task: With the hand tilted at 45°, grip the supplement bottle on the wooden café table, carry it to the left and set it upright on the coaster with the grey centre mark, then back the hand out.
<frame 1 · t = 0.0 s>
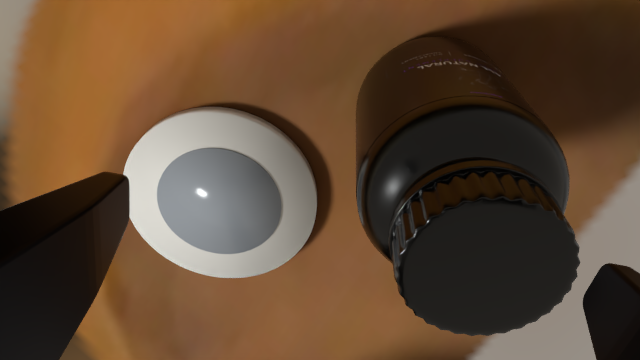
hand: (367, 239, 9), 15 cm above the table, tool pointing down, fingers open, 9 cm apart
coaster: (222, 195, 26), on the table
supplement bottle: (425, 103, 24), on the table
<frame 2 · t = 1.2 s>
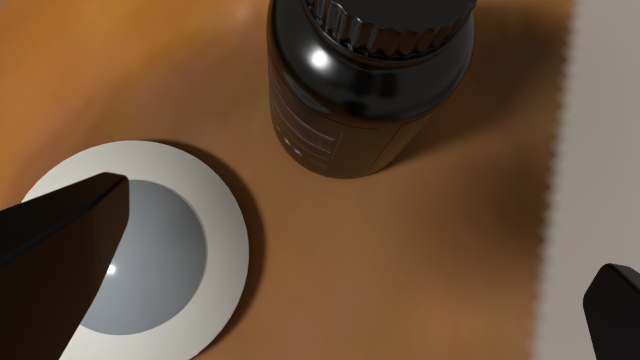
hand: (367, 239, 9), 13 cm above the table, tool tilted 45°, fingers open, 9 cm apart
coaster: (132, 256, 22), on the table
supplement bottle: (338, 115, 24), on the table
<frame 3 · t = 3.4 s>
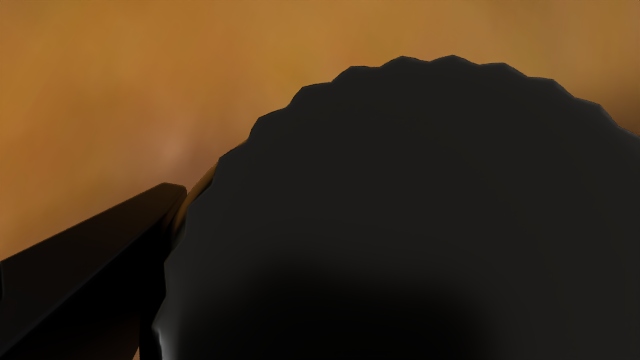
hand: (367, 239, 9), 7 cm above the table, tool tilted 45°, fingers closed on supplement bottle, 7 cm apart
supplement bottle: (320, 312, 16), on the table, touching gripper
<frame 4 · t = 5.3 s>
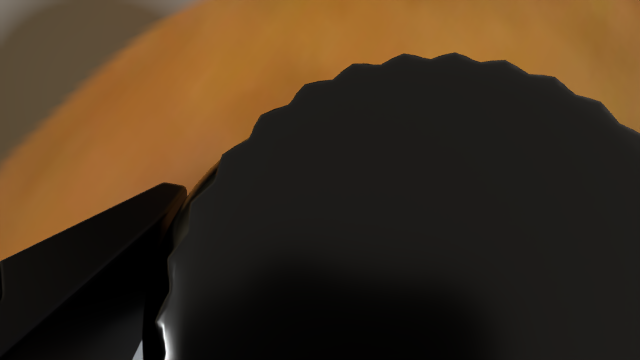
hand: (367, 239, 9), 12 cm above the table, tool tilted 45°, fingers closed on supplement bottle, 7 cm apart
supplement bottle: (322, 311, 16), point 5 cm above the table, touching gripper
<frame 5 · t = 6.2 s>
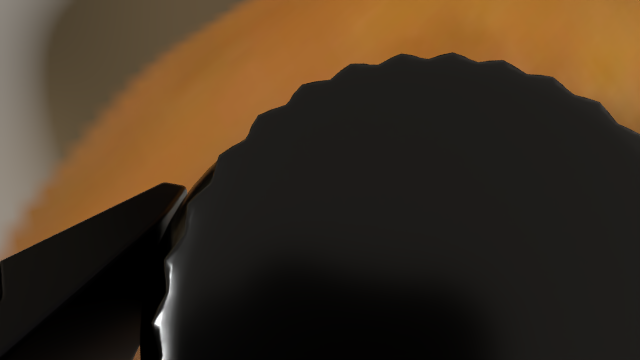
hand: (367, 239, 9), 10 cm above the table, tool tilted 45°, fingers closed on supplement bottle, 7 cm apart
supplement bottle: (321, 311, 16), point 4 cm above the table, touching gripper
when the fingers open (9 cm above the table, at t = 7.1 s): supplement bottle drops 1 cm, resting on coaster.
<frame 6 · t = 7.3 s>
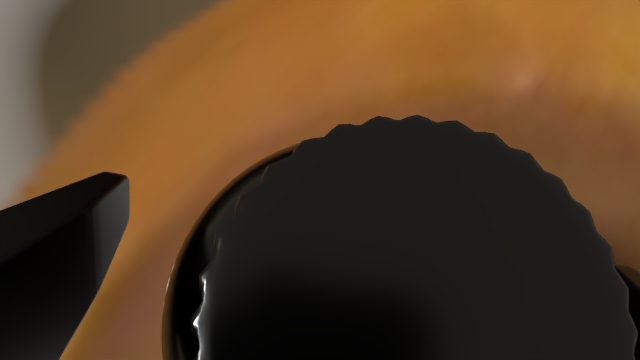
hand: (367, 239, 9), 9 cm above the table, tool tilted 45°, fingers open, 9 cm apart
supplement bottle: (314, 314, 17), point 1 cm above the table, touching coaster
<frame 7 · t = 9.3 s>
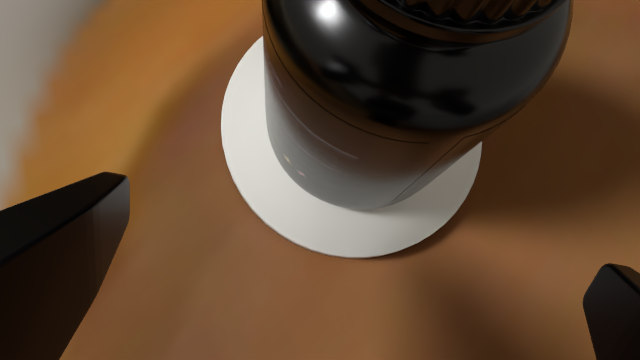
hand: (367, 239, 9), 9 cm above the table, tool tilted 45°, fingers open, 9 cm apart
coaster: (351, 131, 20), on the table
supplement bottle: (353, 126, 19), point 1 cm above the table, touching coaster
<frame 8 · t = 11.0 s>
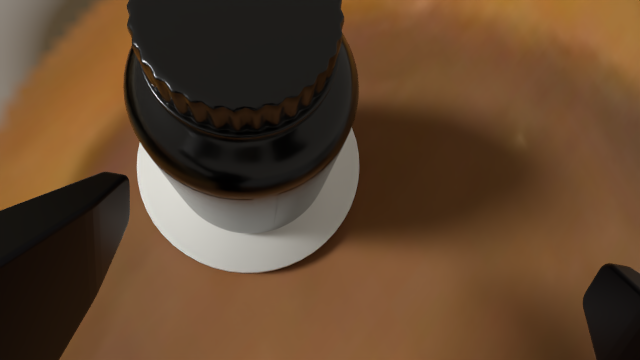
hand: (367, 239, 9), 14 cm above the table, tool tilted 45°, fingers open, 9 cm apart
coaster: (251, 165, 23), on the table
supplement bottle: (249, 162, 23), point 1 cm above the table, touching coaster
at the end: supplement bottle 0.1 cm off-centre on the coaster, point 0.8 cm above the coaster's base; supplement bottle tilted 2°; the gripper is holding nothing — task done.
